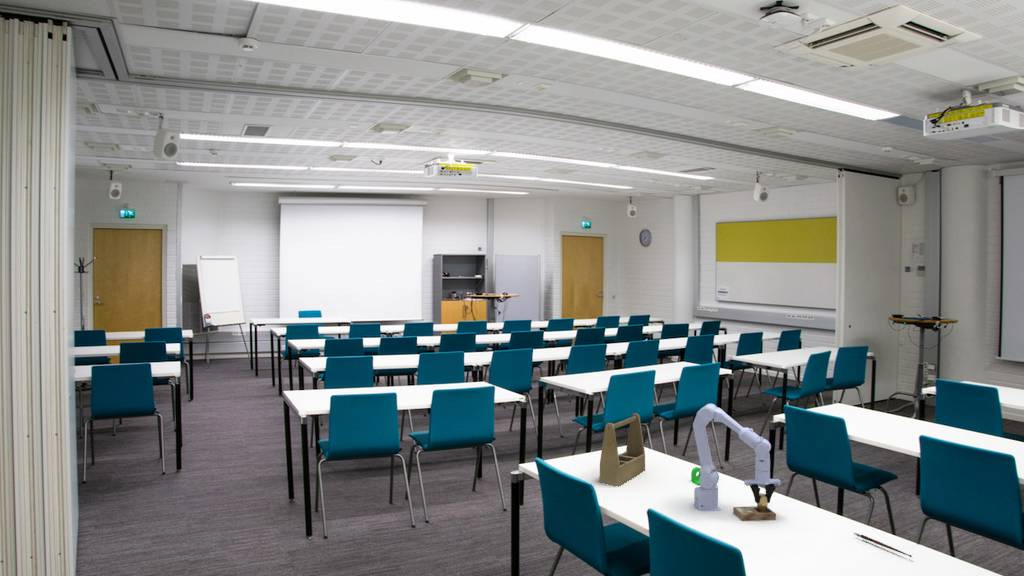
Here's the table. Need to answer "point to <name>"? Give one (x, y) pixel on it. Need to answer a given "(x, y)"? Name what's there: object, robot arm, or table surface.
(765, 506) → the cylinder
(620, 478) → the caddy
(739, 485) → the table surface
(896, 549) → the pen
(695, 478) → the mechanical part
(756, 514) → the pocket board
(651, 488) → the table surface
